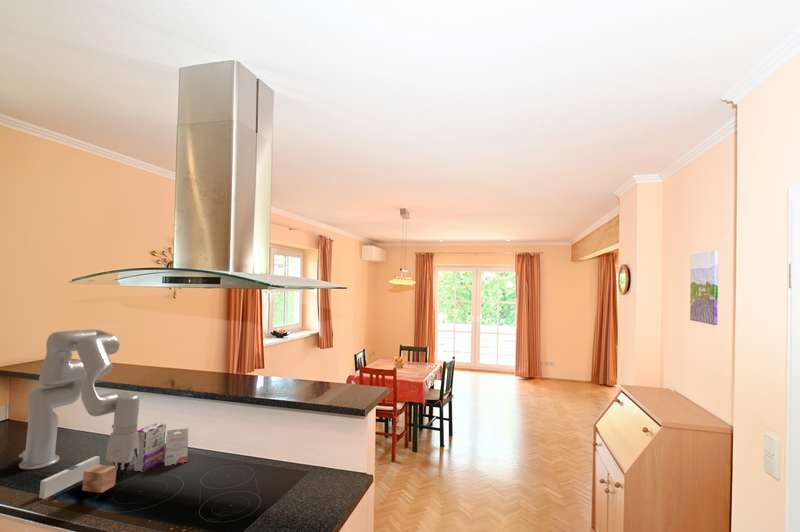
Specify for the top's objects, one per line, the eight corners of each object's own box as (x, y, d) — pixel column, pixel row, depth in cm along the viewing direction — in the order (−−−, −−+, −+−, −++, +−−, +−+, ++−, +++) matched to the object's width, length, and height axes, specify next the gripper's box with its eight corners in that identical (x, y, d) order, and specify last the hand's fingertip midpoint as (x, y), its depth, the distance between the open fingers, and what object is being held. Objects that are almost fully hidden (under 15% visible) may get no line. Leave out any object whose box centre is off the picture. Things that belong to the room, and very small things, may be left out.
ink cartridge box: (186, 458, 180) (189, 424, 181) (186, 463, 175) (189, 428, 176) (164, 461, 176) (167, 427, 177) (163, 466, 171) (166, 430, 172)
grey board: (38, 498, 143) (40, 480, 143) (94, 471, 164) (95, 455, 165) (44, 499, 142) (45, 480, 143) (98, 471, 164) (100, 456, 164)
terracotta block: (82, 490, 149) (83, 471, 150) (96, 483, 155) (98, 464, 156) (101, 493, 148) (103, 473, 149) (115, 485, 154) (116, 466, 154)
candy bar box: (154, 460, 177) (157, 421, 178) (163, 461, 176) (166, 423, 177) (132, 471, 166) (135, 430, 167) (142, 472, 165) (146, 431, 166)
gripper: (98, 430, 149) (94, 481, 148) (135, 434, 147) (131, 486, 146) (115, 423, 157) (111, 472, 155) (150, 427, 154) (146, 476, 153)
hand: (121, 479), depth 151 cm, fingers closed
